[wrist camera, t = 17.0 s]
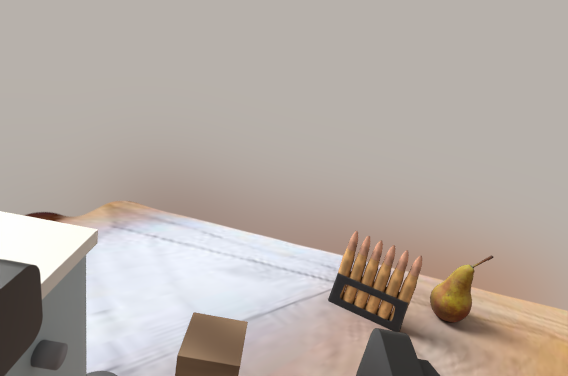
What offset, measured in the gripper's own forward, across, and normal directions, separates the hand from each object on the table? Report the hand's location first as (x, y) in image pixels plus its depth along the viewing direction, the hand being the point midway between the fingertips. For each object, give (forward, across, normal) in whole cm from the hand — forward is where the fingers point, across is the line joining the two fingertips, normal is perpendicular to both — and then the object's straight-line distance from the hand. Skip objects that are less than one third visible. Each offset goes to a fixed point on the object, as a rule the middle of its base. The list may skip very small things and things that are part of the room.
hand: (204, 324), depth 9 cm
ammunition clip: (+37, -18, +28) cm, 50 cm away
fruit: (+40, -31, +28) cm, 58 cm away
